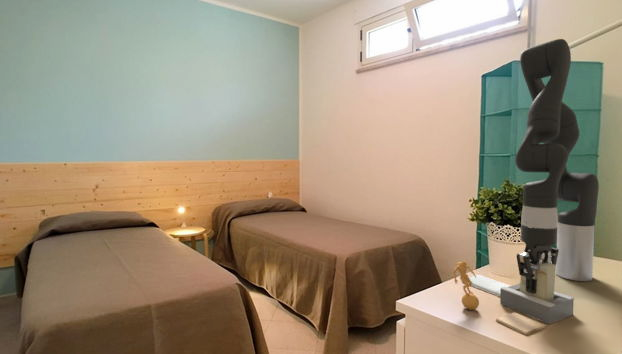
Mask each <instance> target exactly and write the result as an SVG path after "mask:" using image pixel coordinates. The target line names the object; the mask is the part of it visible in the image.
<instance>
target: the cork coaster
mask: <svg viewBox="0 0 622 354" xmlns="http://www.w3.org/2000/svg"><path fill="white" fill-rule="evenodd" d="M495 321H496V322H497V323H499V324H502V325H504V326H506V327H509V329H512V330H514V331H516V332H518V333H520V334H523V335H525V336H527V335H530V334H532V333H535V332H537V331H540V330H542V329H544V328H545V329H546V325H545V324H543V323H542V322H539V321H537V320H534V319H532V318H529V317H527V316H524V314H523V315H522V314H520V313H518V312H514V311H513V312H512V313H509V314H506V315H503V316H500V317H497V318H496V319H495Z"/></svg>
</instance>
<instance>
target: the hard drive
mask: <svg viewBox="0 0 622 354" xmlns="http://www.w3.org/2000/svg"><path fill="white" fill-rule="evenodd" d="M475 276H476V277H475ZM475 276H474V275H472V276H468V277H469V279H470V280H471V281H472V285H471V286H470V287H473V288H476V289H478V290H481V291H483V292H486V293H489V294H491V295H494V296H497V297H499V298H500V294H501V288H502V287H509V286H511V285H510V284H506V283H503V282H500V281H499V280H495V279H492V278H489V277H486V276H484V275H481V274H475ZM461 283H463V282H462V281H461ZM467 283H468V282H467ZM463 284H464V283H463ZM468 284H469V283H468Z"/></svg>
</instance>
